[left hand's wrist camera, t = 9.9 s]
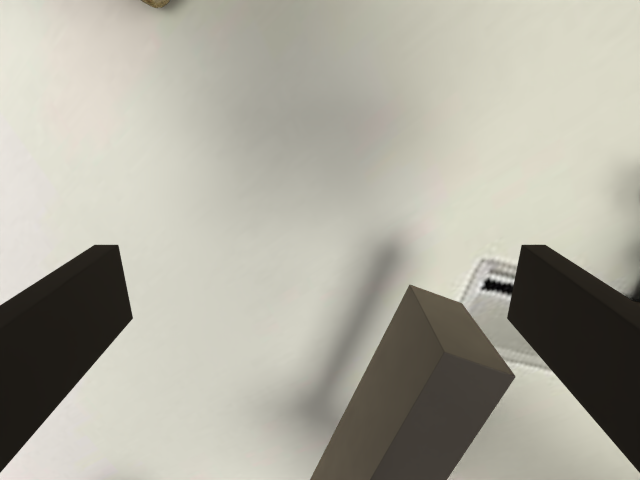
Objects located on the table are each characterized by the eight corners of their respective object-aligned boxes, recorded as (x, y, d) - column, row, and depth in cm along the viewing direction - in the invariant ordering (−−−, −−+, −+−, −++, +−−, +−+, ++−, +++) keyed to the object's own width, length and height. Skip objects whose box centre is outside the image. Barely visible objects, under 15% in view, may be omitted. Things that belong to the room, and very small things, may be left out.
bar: (409, 284, 28) (444, 351, 20) (462, 303, 29) (516, 376, 21) (287, 522, 37) (278, 637, 29) (330, 534, 37) (333, 649, 29)
